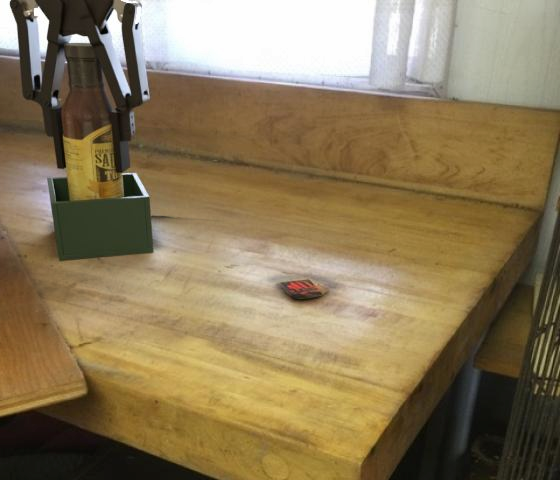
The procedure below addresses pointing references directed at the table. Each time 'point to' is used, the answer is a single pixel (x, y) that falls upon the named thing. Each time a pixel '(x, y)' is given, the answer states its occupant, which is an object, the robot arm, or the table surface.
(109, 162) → the sauce bottle
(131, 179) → the bin
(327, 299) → the table surface
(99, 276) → the table surface
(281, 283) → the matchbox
